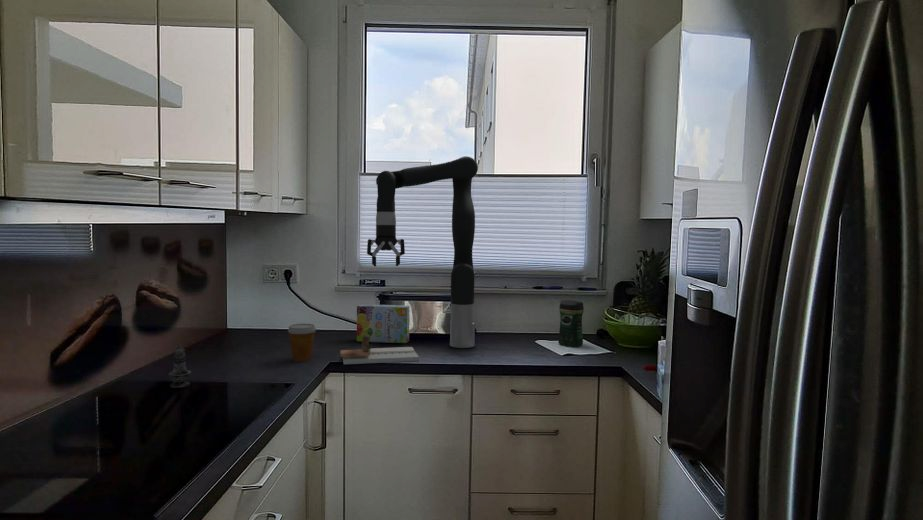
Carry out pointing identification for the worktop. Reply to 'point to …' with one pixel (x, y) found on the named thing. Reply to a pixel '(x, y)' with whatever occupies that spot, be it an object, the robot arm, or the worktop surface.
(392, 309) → the snack box
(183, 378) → the dark grey tiered piece
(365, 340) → the stub
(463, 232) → the robot arm
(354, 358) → the board
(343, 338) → the worktop surface
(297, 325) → the disposable coffee cup
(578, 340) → the coffee jar
